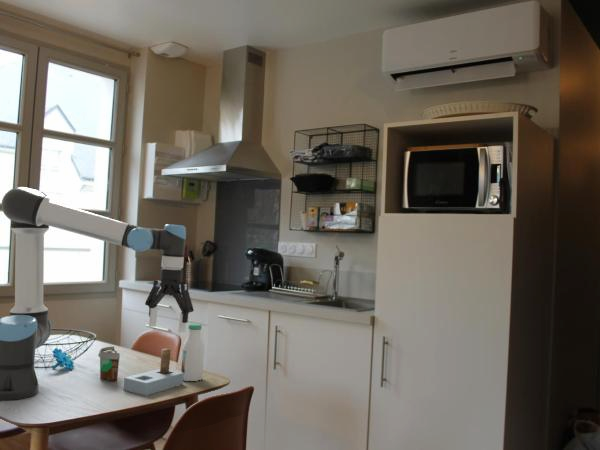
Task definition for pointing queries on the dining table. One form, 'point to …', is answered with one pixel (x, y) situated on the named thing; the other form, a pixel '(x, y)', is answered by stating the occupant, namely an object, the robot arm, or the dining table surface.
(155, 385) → the hole block
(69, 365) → the gear
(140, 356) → the dining table surface
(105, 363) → the food container
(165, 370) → the peg
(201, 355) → the milk bottle
